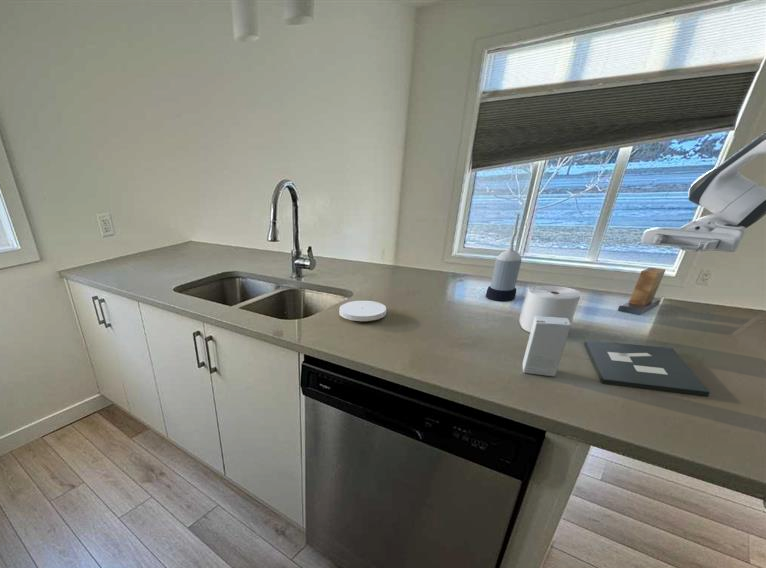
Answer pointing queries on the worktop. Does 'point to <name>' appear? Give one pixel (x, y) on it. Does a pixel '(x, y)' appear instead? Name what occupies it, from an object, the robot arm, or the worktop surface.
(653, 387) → the slate board
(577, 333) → the worktop surface
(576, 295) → the toilet tissue
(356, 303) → the plastic lid
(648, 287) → the eraser
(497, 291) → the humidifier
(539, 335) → the cosmetic box
